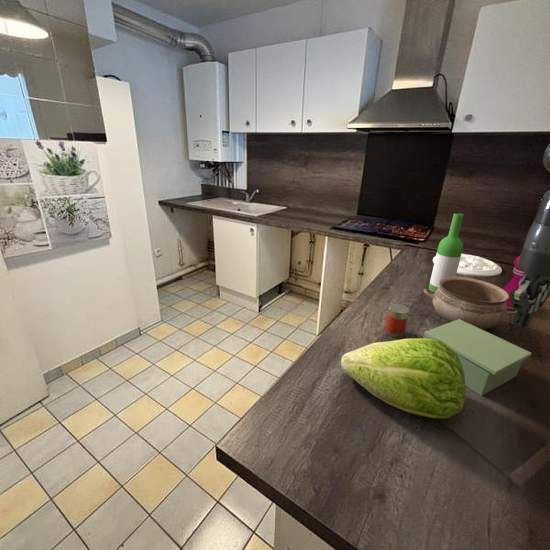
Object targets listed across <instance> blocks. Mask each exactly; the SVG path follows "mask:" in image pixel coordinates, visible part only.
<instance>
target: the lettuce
mask: <svg viewBox="0 0 550 550" xmlns="http://www.w3.org/2000/svg"><path fill="white" fill-rule="evenodd" d="M340 365H341V370H342V372H344V373H345V374H347V375H348V376H349V377H350V378H352V379H353V380H354V381H355V382H356V383H358V385H360V386H361V387H362V388H364V389H365V390H366V391H367V392H369V393H370V394H371V395H372V396H373V397H375V398H378V399H379V400H380V401H382V402H384V403H386V404H387V405H390V406H391V407H393V408H396V409H398V410H402V411H403V412H406V413H408V414H413V415H417V416H422V417H426V418H432V419H446V420H447V419H450V418H452V417H453V416H455V415H457V414H459V413H461V412H462V411H463V407H464V405H465V403H466V391H467V389H466V388H467V386H466V385H465V376H464V370H463V367H462V364H461V361H460V359H459V358H458V356H457V354H456V353H455V352H454V351H453V350H452V349H451V348H450V347H448V346H447V345H446V344H445V343H444V342H442V341H440V340H435V339H429V338H423V337H422V338H421V337H418V338H415V337H414V338H413V337H412V338H411V337H410V338H403V339H402V338H400V339H396V340H395V339H394V340H389V341H378V342H375V341H374V342H372V343H369V344H367V345H363V346H361V347H359V348H356V349H354V350H351V351H348V352H346V353H344V354H343V355H341V360H340Z"/></svg>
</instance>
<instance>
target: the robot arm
mask: <svg viewBox="0 0 550 550" xmlns="http://www.w3.org/2000/svg"><path fill="white" fill-rule="evenodd" d="M542 165H543V166H544V168H545V170H547V171H548V172H550V143H549V144H548V145H547V147H546V149H545V150H544V152H543V155H542ZM519 256H520V258H519V261H518V263H517V266H518V267H519V268H520V269H521V270H523V271H524V272H525V275H524V276H523V278H521V279H520V282H519V289H518V290H514V289H512V290H511V291H510V299H511V304H512V308H514V309H516V310H517V313H516V314H514V315H515V316H514V318H513V321H512V325H513V326H514V327H517V328H519V329H526V328H528V327H529V326H530V323H531V322H532V321H531V320H532V319H533V316H534V313H536V312H537V311H538V309H539V308H542V307H543V306H544V304H545V303H546V301H547V300H548V299H549V297H550V190H548V191H546V192H545V193H544V194H543V195H542V197H541V198H540V201H539V204H538V207H537V210H536V213H535V216H534V219H533V222H532V223H531V226H530V227H529V229H528V232H527V234H526V237H525V240H524V243H523V246H522V249H521V252H520V255H519ZM516 310H515V311H516Z"/></svg>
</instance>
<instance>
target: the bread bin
mask: <svg viewBox="0 0 550 550" xmlns="http://www.w3.org/2000/svg"><path fill="white" fill-rule="evenodd" d="M422 338H429V337H428V336H426V335H424V334H423V336H422ZM429 339H431V338H429ZM456 354H457V353H456ZM457 356H458V358H459V359H460V361H461V364H462V367H463V370H464V376H465V386H466V388H468V389H470V390H472V391H473V392H474V393H476V394H478V395H479V396H484V395H486V394H487V393H489V392H491V391H492V390H494V389H496V388H498V387H500V386H501V385H503V384H505V383H507V382H508V381H511V380H513V379H514V378H516V377H517V376H518V374H519V371H520V369H521V366H522V364H523V362H524V360H522V361H520V362H518V363H516V364H514V365H513V366H511V367H509V368H507V369H505V370H503V371H501V372H499V373H497V374H496V375H494V374H492V373H490V372H489V371H487V370H485V369H483V368H482V367H480V366H478V365H476V364H475V363H473V362H471V361H469V360H468V359H466V358H464V357H462V356H461V355H459V354H457Z"/></svg>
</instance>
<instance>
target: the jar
mask: <svg viewBox="0 0 550 550" xmlns="http://www.w3.org/2000/svg"><path fill="white" fill-rule="evenodd" d="M409 313H410V308H409V307H408V306H407V305H404V304H401V303H391V304H389V305H388V310H387V314H386V319H385V324H384V333H385V334H386V336H389V337H390V338H394V339H402V338H403V337H404V336H405V333H406V329H407V324H408V319H409Z"/></svg>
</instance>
